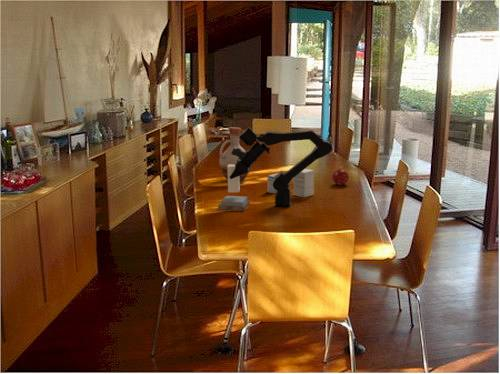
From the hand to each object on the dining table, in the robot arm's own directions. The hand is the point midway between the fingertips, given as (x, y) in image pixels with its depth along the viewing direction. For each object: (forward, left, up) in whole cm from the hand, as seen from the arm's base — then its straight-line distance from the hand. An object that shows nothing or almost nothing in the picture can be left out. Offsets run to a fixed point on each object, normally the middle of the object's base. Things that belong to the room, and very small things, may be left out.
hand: (230, 177), depth 246 cm
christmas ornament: (-48, -50, -14) cm, 70 cm away
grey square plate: (-2, +2, -14) cm, 15 cm away
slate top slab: (-2, +2, -12) cm, 12 cm away
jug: (+10, -49, -14) cm, 51 cm away
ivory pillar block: (-1, 0, -7) cm, 7 cm away
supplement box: (-31, -25, -14) cm, 42 cm away
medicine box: (-16, -30, -14) cm, 36 cm away
